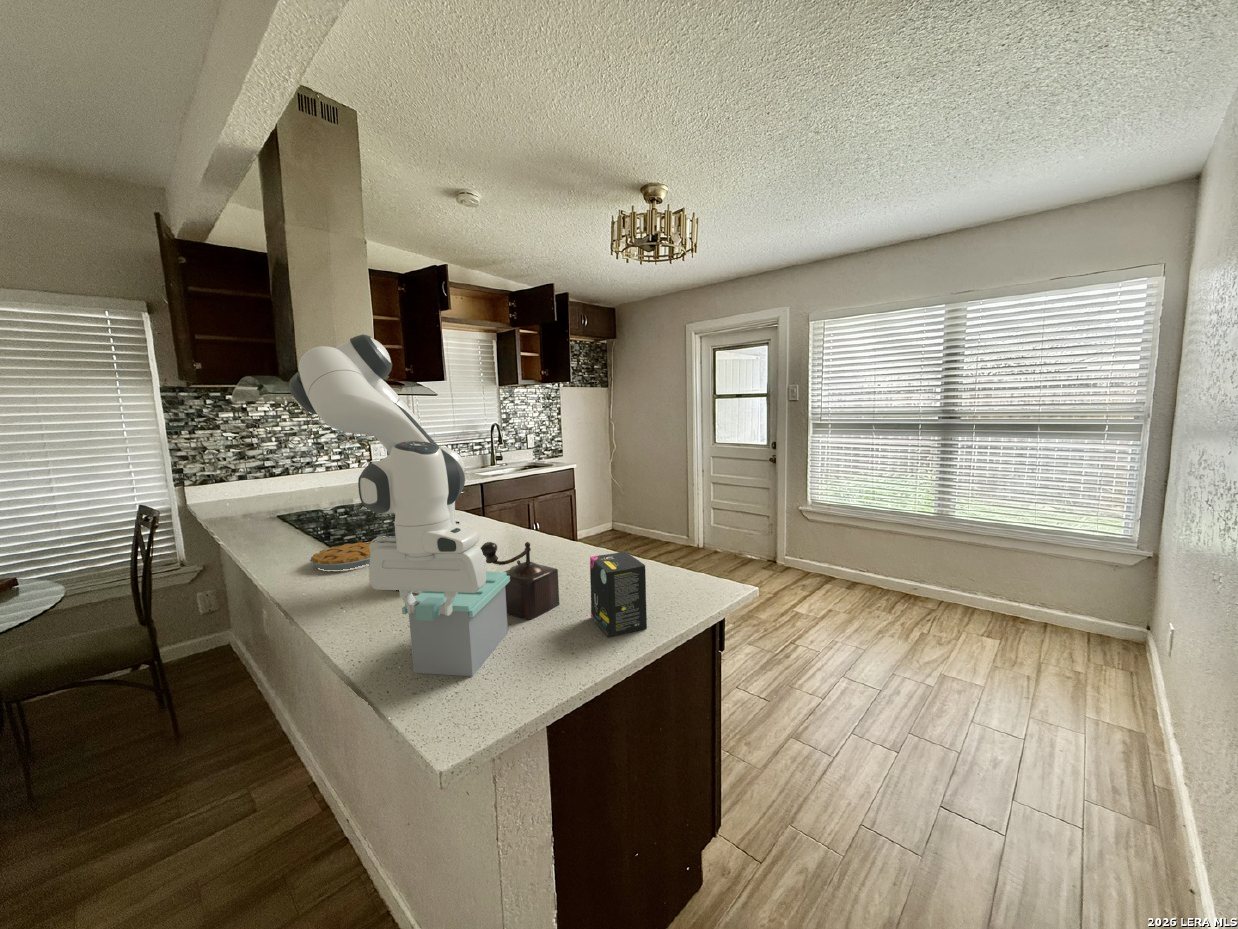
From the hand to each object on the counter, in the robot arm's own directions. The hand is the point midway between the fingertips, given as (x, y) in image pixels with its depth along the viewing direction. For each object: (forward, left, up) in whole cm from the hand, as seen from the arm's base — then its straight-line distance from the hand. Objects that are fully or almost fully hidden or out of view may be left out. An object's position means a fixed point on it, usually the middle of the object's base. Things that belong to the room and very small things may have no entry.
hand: (430, 613), depth 80 cm
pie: (-65, +61, -13) cm, 90 cm away
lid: (0, +9, -1) cm, 9 cm away
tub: (0, +11, -13) cm, 17 cm away
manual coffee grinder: (+5, +30, -13) cm, 33 cm away
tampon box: (+29, +26, -13) cm, 41 cm away
